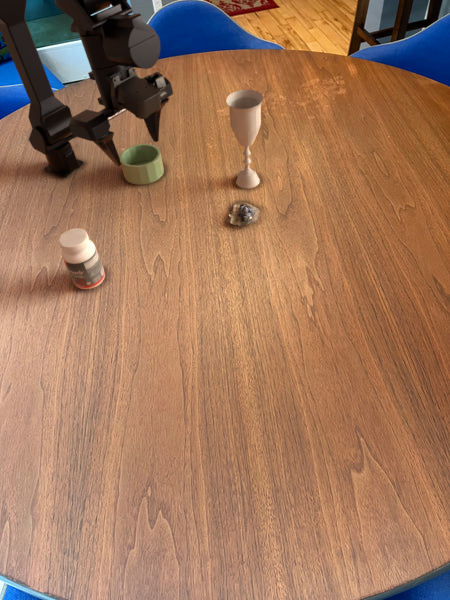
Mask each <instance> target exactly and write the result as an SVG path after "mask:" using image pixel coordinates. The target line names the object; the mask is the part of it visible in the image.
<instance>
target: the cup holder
mask: <svg viewBox="0 0 450 600" xmlns="http://www.w3.org/2000/svg"><path fill="white" fill-rule="evenodd" d="M119 158H120V162H121V166H120V167H121V170H122V174H123V177H124V179H125V180H126V181H127V182H128V183H130V184H133V185H136V186H137V185H138V186H140V185H141V186H142V185H148V184H152V183H154V182H156V181H159V179H161V177H162V176H163V175H164V172H165V167H164V163H163V158H162V153H161V149H160V148H159V147H158V146H157V145H154V144H151V143H139V144H133V145H130V146H128V147H126V148H125V149H124V150H123V151H122V152H121V153H120V155H119Z"/></svg>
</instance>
